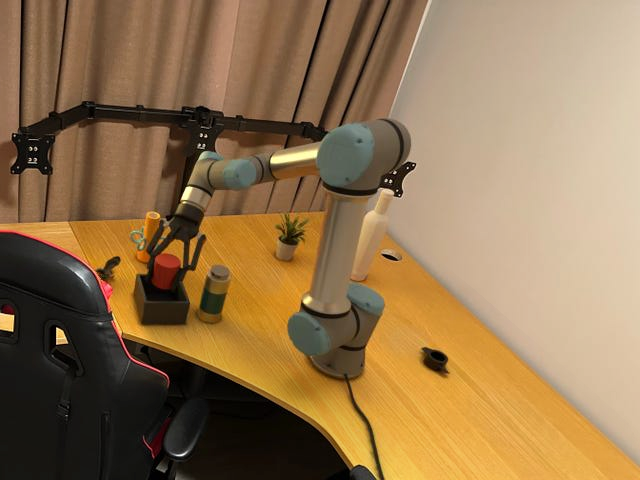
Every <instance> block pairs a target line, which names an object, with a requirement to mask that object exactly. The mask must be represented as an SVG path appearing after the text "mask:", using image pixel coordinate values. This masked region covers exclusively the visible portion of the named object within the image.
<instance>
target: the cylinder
mask: <svg viewBox="0 0 640 480" xmlns="http://www.w3.org/2000/svg"><path fill="white" fill-rule="evenodd" d="M160 220H161V215H160V214H159V213H158V212H155V211H148V212H146V216H145V223H144V225H143V226H142V227H141V228H140V231H139V230H133V231H131V232H130V233H129V239H130V241H131V242H132V243H134V244H136V249H137V255H136V258H137V260H139V261H140V262H142V263H145V264H148V261H149V259H150V255H148V253H147V252H146V249H147V247H148V245H149V243H150V241H151V240H152V238H153V236H154V234H155V232H156V231H157V229H158V227H159V221H160ZM134 234H138V235H139V237H140V239H139V240H135V239H134V237H133V236H134ZM165 238H166V236H163V235H162V236H161V238H160V240H164V239H165ZM158 246H159V242H158V243H157V245H156V247H155V249H156V248H157V247H158ZM169 246H170V244H169V245H168V246H167V247H166V249H167V248H169ZM155 249H154V250H155ZM154 250H153V251H154Z"/></svg>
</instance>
